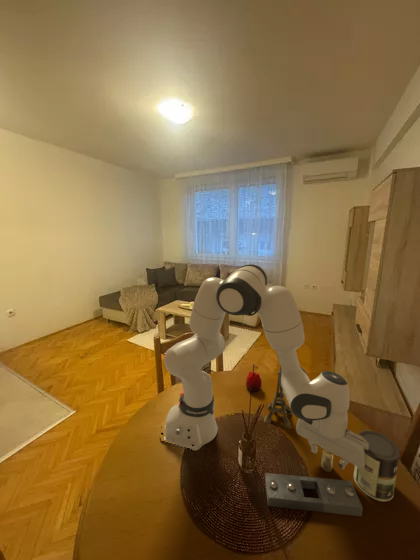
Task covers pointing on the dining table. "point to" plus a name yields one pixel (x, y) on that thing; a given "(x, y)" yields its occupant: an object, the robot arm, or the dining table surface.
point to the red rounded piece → (253, 381)
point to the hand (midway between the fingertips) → (327, 459)
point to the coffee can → (378, 467)
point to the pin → (327, 460)
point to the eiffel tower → (281, 402)
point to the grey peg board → (330, 492)
